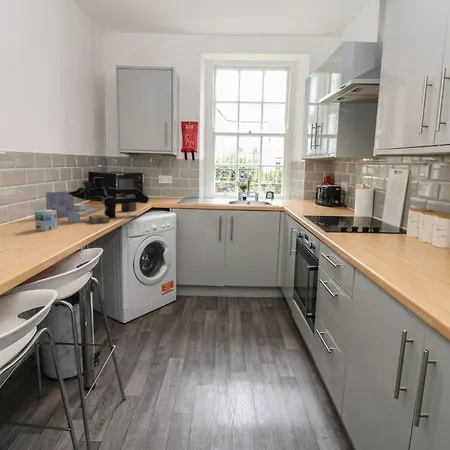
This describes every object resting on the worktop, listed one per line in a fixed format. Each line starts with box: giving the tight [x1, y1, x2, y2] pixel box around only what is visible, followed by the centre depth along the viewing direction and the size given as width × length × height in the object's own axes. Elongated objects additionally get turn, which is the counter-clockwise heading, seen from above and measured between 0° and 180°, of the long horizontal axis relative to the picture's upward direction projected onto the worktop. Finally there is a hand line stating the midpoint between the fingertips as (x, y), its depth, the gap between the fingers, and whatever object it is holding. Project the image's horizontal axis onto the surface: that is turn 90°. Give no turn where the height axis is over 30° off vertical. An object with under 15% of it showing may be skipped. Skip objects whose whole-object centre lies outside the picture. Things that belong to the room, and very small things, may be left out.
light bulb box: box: [34, 208, 58, 232], centre depth 208 cm, size 11×7×11 cm, turn 168°
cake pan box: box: [45, 190, 76, 219], centre depth 248 cm, size 19×5×18 cm, turn 145°
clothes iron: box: [120, 194, 137, 213], centre depth 286 cm, size 8×16×13 cm, turn 154°
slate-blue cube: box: [67, 211, 81, 224], centre depth 231 cm, size 6×6×6 cm
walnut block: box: [88, 214, 110, 225], centre depth 234 cm, size 10×10×4 cm
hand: (70, 194), depth 237 cm, fingers open, 9 cm apart
